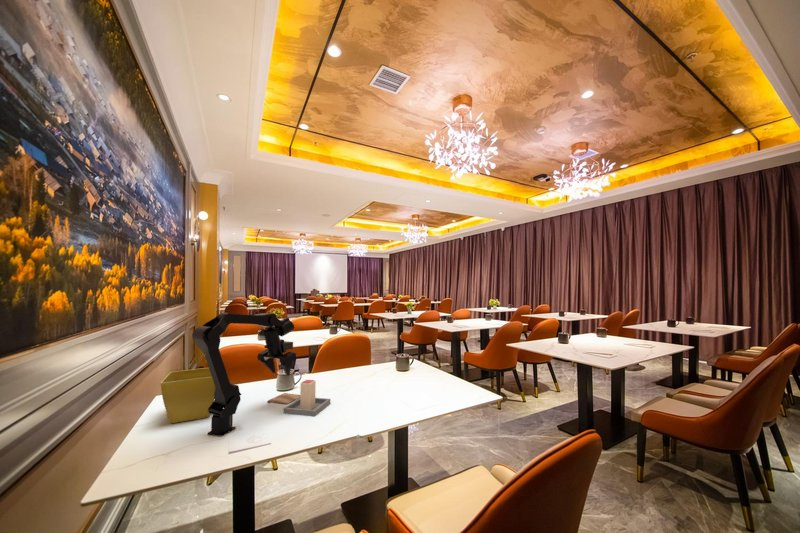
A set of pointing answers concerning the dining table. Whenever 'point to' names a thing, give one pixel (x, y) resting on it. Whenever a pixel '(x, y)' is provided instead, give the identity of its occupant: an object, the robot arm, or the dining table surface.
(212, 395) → the flower pot
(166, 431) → the dining table surface
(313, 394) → the carton
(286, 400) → the pad
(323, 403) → the bin
